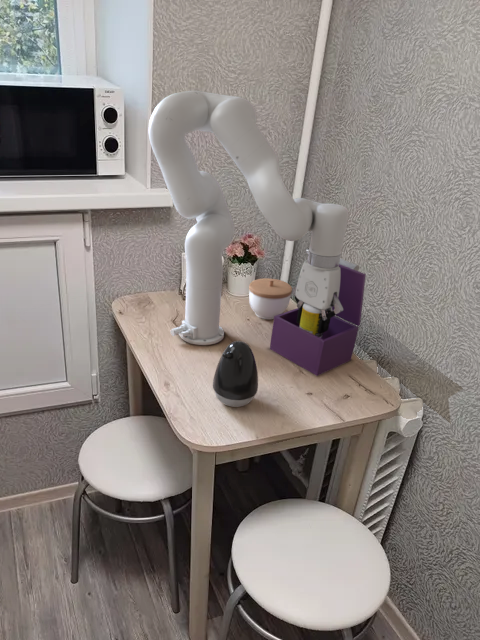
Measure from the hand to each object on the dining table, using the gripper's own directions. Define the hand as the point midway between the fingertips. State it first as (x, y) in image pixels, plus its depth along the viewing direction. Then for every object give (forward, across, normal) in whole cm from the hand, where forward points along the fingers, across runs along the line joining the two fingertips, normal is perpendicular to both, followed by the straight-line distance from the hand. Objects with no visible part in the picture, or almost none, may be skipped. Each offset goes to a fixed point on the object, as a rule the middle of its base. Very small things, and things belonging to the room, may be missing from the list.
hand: (311, 326), depth 134 cm
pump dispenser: (+9, +4, -30) cm, 31 cm away
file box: (+9, 0, +1) cm, 9 cm away
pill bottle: (+3, 0, 0) cm, 3 cm away
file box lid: (-8, 0, +6) cm, 10 cm away
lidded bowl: (+9, -24, +9) cm, 27 cm away
